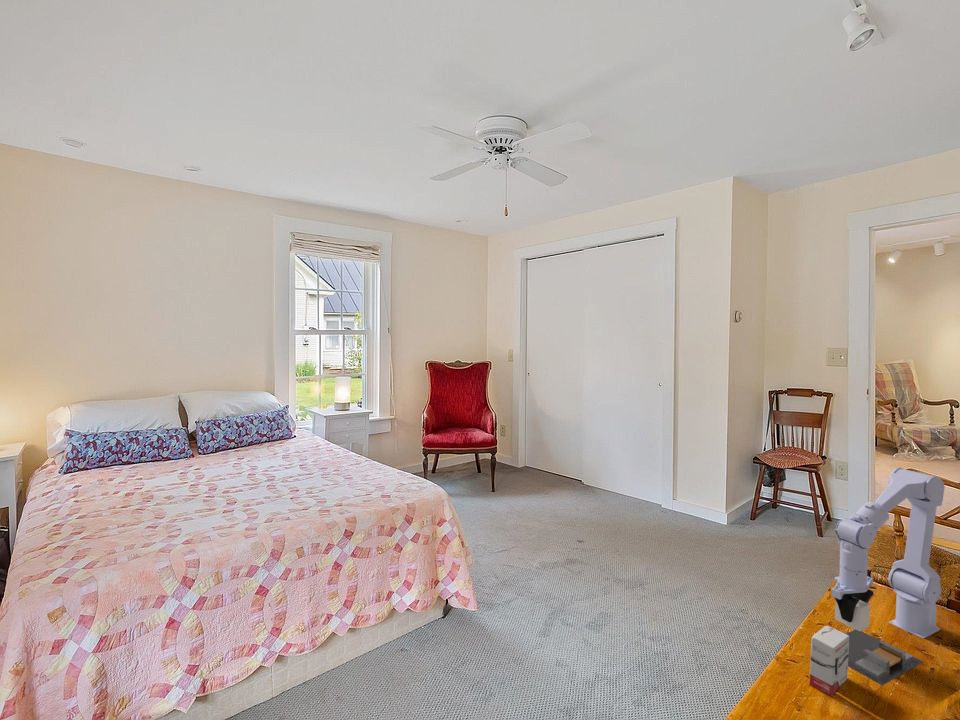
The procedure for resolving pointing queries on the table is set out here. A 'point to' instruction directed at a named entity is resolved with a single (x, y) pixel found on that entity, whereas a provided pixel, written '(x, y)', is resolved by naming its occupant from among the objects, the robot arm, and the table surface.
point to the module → (856, 616)
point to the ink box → (829, 659)
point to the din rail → (876, 658)
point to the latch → (887, 656)
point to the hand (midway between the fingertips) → (851, 617)
